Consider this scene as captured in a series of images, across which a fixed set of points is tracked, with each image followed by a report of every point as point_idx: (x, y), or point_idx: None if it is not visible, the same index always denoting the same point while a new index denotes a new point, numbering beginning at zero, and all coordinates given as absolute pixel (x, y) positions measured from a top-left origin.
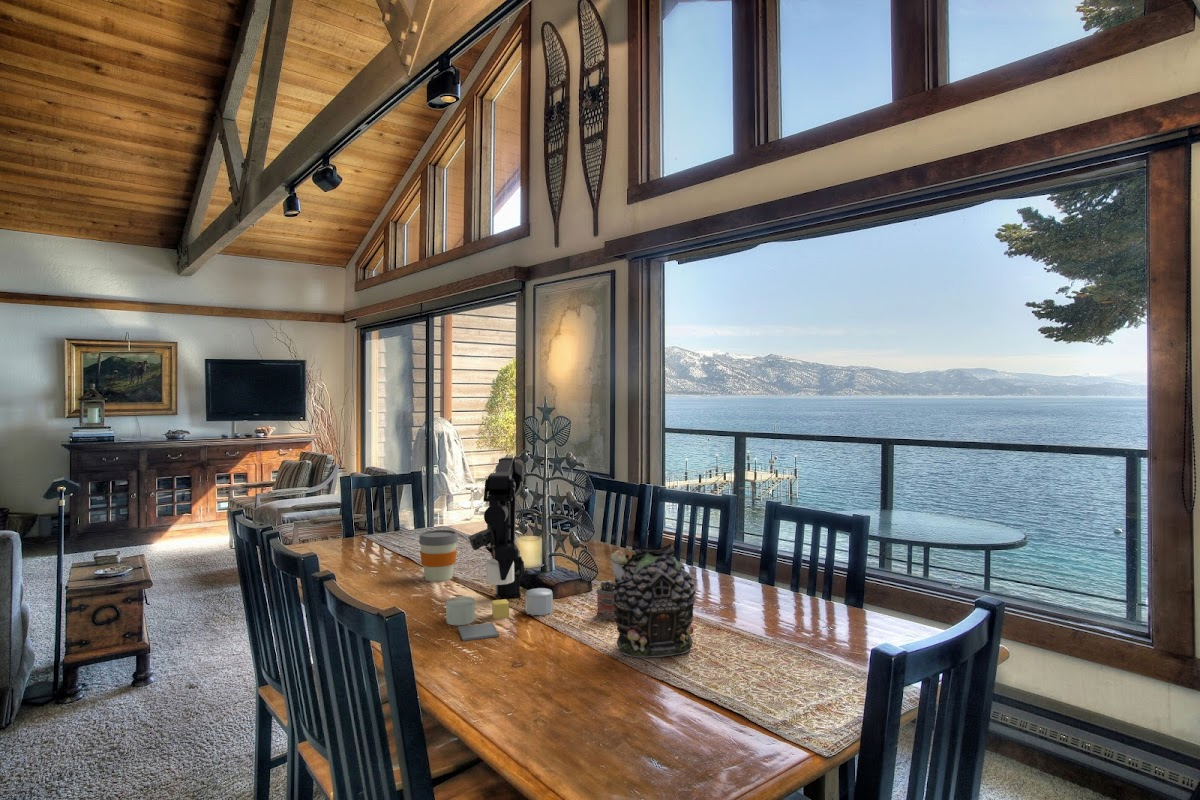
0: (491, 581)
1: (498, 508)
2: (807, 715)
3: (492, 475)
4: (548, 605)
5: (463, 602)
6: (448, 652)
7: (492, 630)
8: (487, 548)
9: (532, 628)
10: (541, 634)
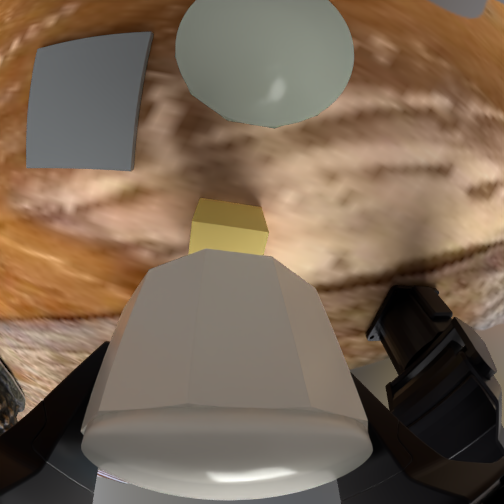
0: (152, 279)
1: None
2: None
3: None
4: None
5: (213, 45)
6: (5, 21)
7: (56, 153)
8: (471, 500)
9: (69, 277)
10: (30, 278)
